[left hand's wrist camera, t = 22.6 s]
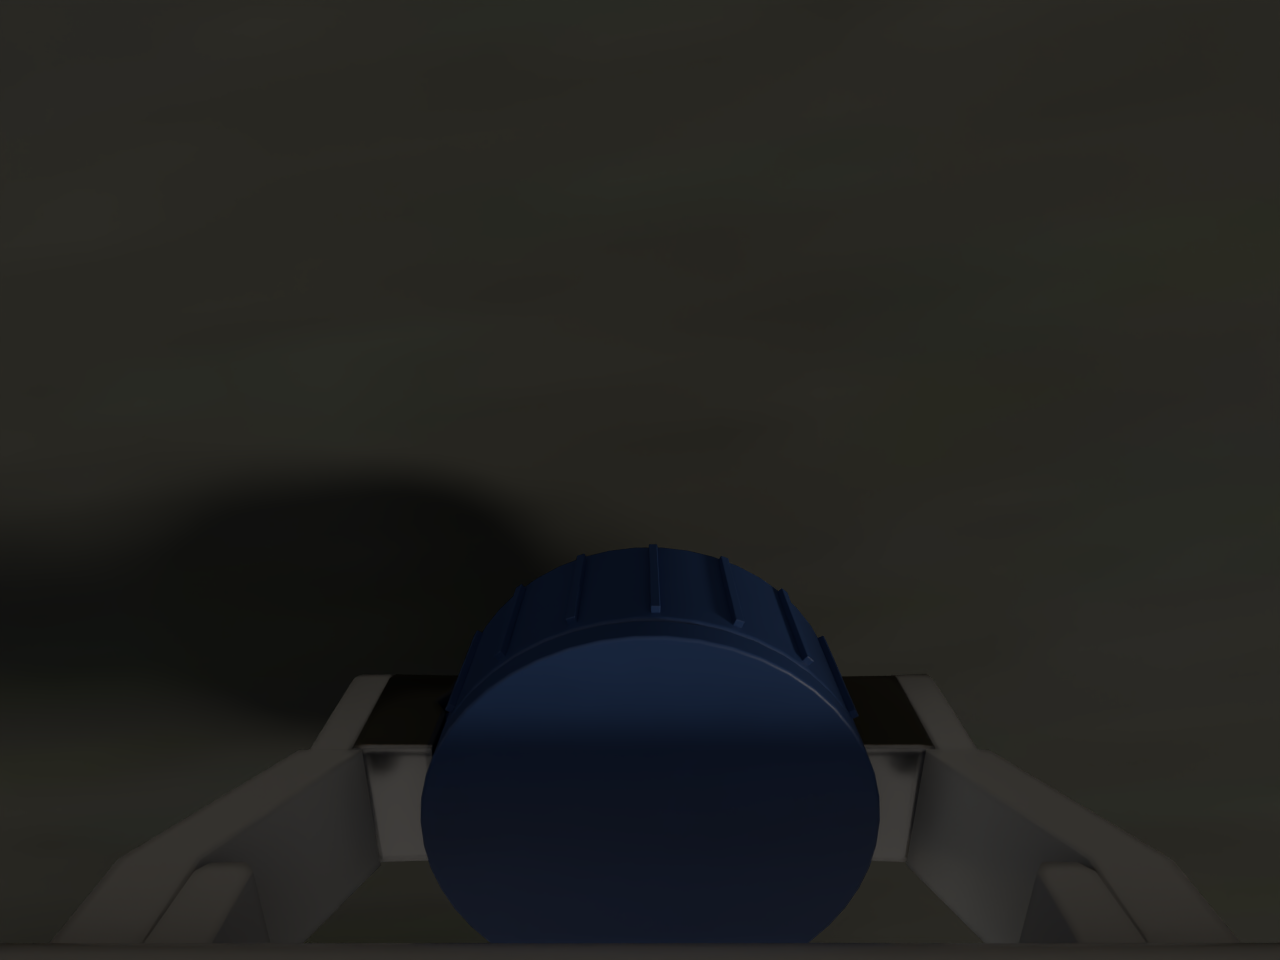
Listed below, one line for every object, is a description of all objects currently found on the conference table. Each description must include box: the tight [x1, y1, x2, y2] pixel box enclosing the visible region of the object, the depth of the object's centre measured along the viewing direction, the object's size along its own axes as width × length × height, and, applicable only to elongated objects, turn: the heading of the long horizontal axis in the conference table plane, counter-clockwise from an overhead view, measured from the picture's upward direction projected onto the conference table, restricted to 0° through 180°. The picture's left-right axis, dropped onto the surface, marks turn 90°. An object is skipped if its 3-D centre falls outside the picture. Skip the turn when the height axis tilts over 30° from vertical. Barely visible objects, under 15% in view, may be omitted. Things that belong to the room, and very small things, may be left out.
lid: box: [420, 544, 880, 943], centre depth 9 cm, size 6×6×2 cm
